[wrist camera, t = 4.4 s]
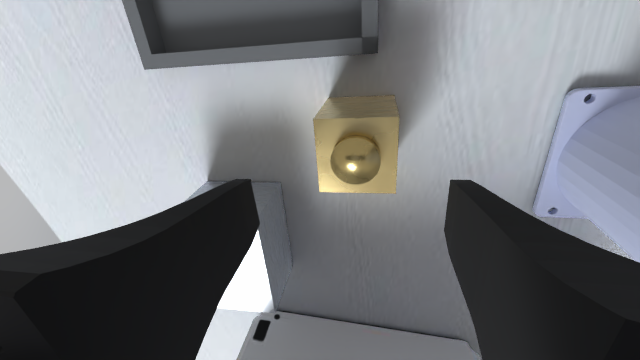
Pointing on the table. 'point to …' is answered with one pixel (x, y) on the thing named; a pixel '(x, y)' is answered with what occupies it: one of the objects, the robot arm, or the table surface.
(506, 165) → the table surface
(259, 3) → the parts tray
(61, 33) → the table surface
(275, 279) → the box
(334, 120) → the fitting block
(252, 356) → the stereo radio cassette player
